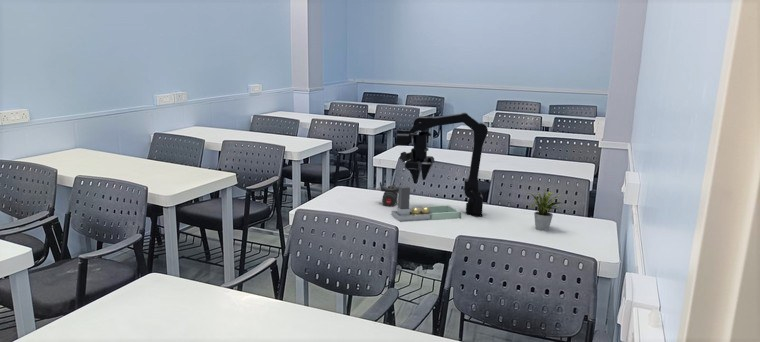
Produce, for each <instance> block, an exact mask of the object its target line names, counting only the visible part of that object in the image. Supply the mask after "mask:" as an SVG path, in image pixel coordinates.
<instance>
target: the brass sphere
mask: <svg viewBox="0 0 760 342" xmlns="http://www.w3.org/2000/svg"><path fill="white" fill-rule="evenodd" d="M420 209H421V208H419V207H413V208H411V209H410V210H411V214H412V215H415V214H420Z"/></svg>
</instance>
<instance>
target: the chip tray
mask: <svg viewBox="0 0 760 342" xmlns="http://www.w3.org/2000/svg"><path fill="white" fill-rule="evenodd" d="M423 207H428V208H429V209H430V213H432V212H443V213H432V215H431V219H432V220H431V221H438V220H439V219H441V220H452V219H453V220H454V219H455V218H457V219H461V218H462V212H461V211H460V210H458V209H457V208H454V207H453V206H451V205H449V204H446V205H445V204H443V205H427V206H421V207H420V209H422V208H423Z"/></svg>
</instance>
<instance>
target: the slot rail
mask: <svg viewBox="0 0 760 342" xmlns="http://www.w3.org/2000/svg"><path fill="white" fill-rule="evenodd" d="M419 209H420V214H415V215H412V214H411V210H412V209H410V215H398V214H397V210H391V214H390V215H391V216H392V217H393V218H394V219H396V220H397V221H398V222H400V223H405V222H406V223H407V222H421V221H422V222H423V221H433V220H432V219H431V215H432V213H443V212H432V213H430V214H421V208H419ZM455 219H456V220H457V219H458V218H455ZM439 220H442V219H439Z"/></svg>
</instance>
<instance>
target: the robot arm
mask: <svg viewBox="0 0 760 342" xmlns="http://www.w3.org/2000/svg"><path fill="white" fill-rule="evenodd" d="M460 123H461V124H462V123H463V124H464V125H466V126H467V128H469V129H471V130H472V134H473V135H472V136H473V137H472V139H473V147H472V153H471V160H470V164H469V165H470V167H469V172H468V177H467V178H464V179H463V180H464V181H463V182H464V183H463V186H462V190H463V192H464V195H465V197H467V202H466V203H465V214H466V215H467V216H472V217H483V204H484V202H483V200H484V198H483V195H482V194H483V193H481V192H480V190H479V180H478V179H479V177H478V176H479V171H480V165H481V159H482V158H481V157H482V151H483V145H484V142H485V141H486V138H487V134H488V133H489V130H488V127H487V125H486V124H485V123H484V122H478V120H475V119H474V118H473V117H471V116H470V115H469V114H468V112H461V113H455V114H450V115H442V116H422V115H420V116H418V117H416V118H415V119H414V121H413V126H412V127H410V129H408V130H406V129H403V130H402V129H397V130H396V137H395V145H396V146H398V147H399V146H402V147H406V146H407V147H409V146H410V145H411V144H412V145H413V148H411V149H410V152H406V151H403V152H400V155H399V159H400V160H401V161H402V163H404V162H405V163H404V168H405V169H406V170H408V171H409V172H410V174H411V178H412V181H413V183H414V184H415V185H418V184H417V183H418V181H419V177H420V174H421V179H422V181H425V180H426V179H427V177H428V174H429V172H430V171H431V168H432V167H433V164H434V163H435V158H434V156H431V155H428V151H429V147H428V137H431V136H432V133H431V132H430V131H429V129H431V128H435V127H437V126H447V125H454V124H460ZM425 130H426V131H425ZM417 132H418V133H417Z"/></svg>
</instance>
